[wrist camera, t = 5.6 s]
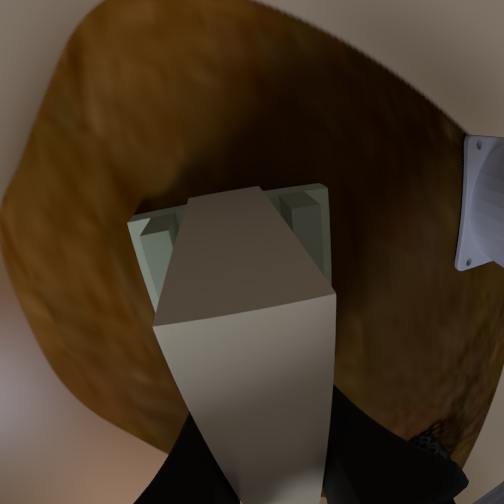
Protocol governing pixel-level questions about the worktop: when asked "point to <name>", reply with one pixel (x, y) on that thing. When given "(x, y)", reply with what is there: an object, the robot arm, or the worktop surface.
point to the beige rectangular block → (251, 344)
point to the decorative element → (431, 444)
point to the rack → (284, 200)
